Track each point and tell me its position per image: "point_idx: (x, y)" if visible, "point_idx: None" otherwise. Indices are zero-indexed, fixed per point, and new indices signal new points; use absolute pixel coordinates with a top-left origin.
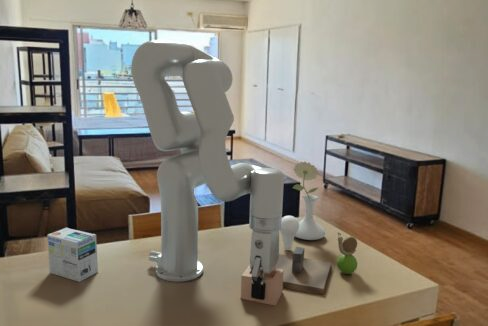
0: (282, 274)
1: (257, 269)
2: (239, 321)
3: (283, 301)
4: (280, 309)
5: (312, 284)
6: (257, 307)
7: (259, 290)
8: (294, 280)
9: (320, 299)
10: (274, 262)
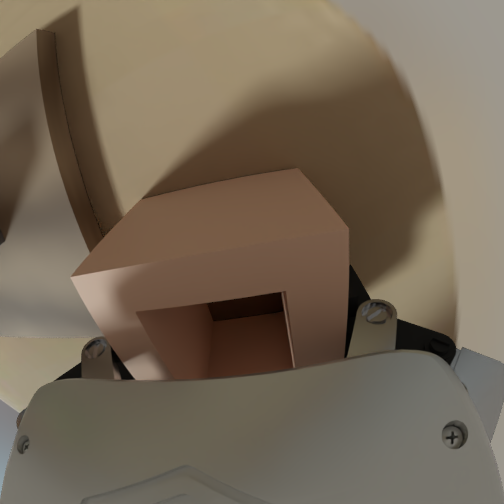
0: (112, 255)
1: (498, 414)
2: (453, 252)
3: (229, 148)
4: (320, 130)
5: (22, 93)
6: (352, 239)
7: (363, 291)
8: (39, 191)
9: (101, 10)
10: (233, 440)
